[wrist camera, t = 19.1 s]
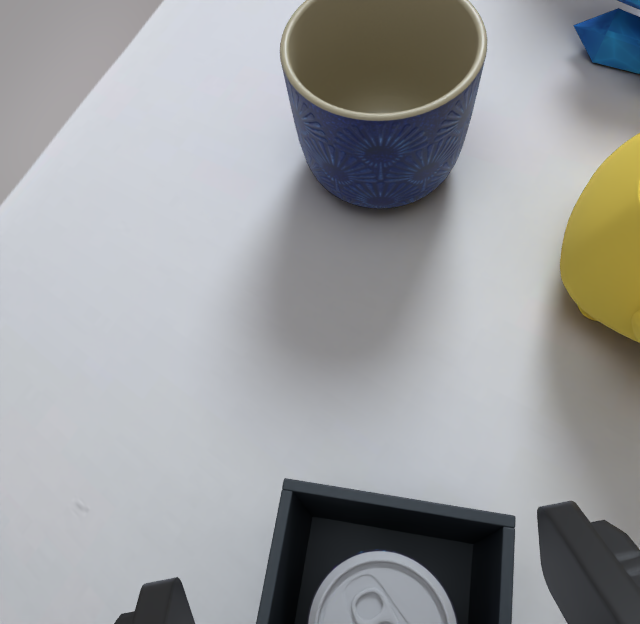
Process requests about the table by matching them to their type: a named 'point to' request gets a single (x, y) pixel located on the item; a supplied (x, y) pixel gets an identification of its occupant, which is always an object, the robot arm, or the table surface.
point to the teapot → (607, 244)
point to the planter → (382, 92)
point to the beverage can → (381, 592)
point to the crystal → (613, 38)
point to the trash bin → (387, 548)
